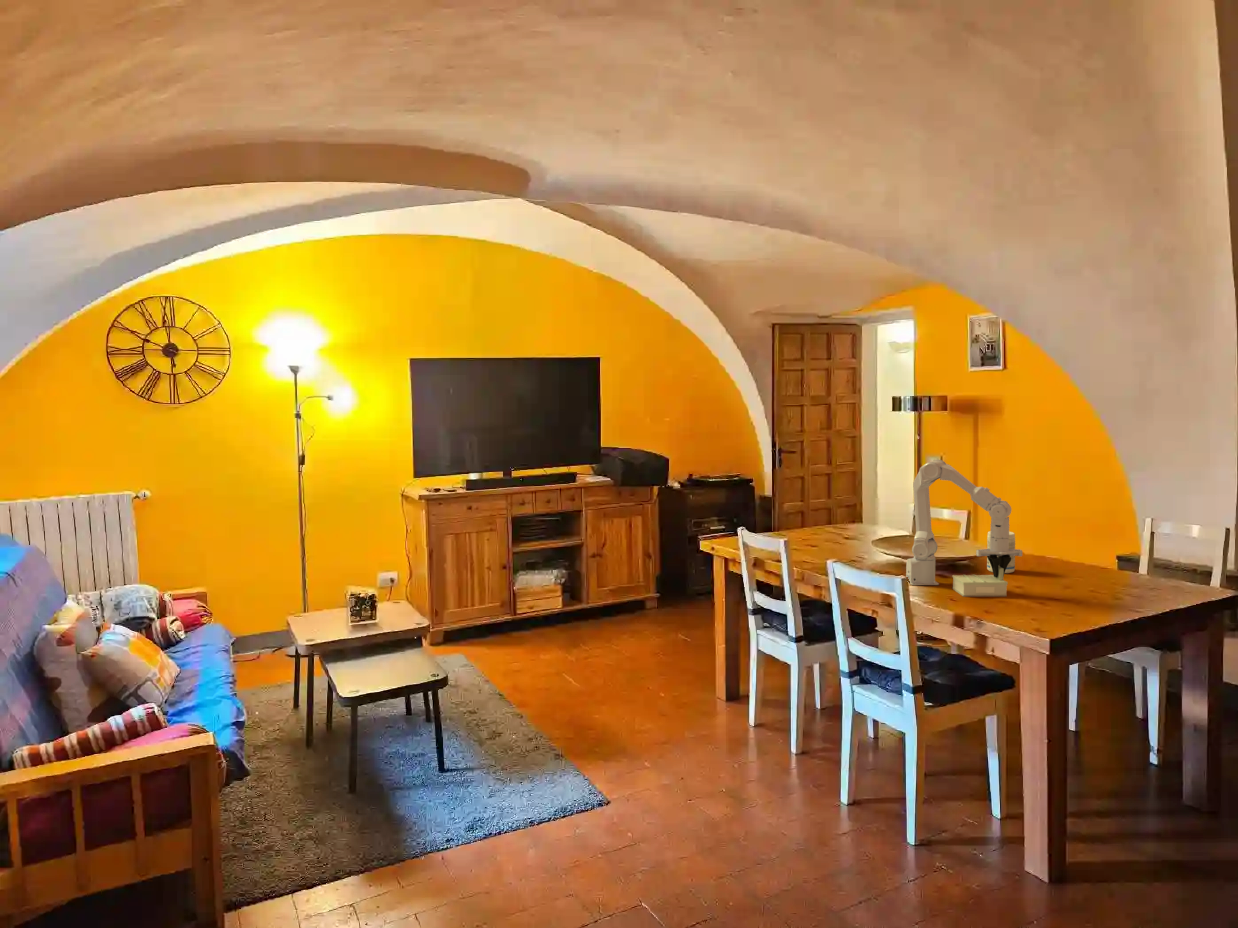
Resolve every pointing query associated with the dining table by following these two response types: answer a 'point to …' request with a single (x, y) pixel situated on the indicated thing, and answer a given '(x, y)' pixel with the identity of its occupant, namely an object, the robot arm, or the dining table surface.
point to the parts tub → (979, 589)
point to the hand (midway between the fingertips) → (998, 576)
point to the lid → (981, 579)
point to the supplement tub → (1011, 564)
